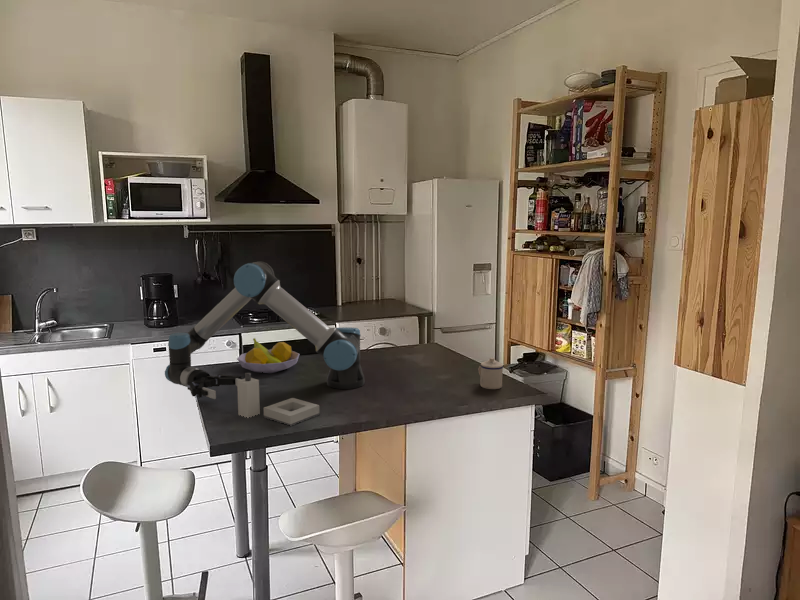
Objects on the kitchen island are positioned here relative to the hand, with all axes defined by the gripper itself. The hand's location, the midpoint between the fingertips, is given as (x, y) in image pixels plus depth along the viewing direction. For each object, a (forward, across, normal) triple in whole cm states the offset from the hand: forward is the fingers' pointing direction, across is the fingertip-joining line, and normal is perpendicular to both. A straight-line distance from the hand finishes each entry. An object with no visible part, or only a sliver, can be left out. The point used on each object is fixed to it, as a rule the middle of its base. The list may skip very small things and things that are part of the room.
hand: (231, 390), depth 190 cm
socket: (+19, -8, -7) cm, 22 cm away
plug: (+9, 0, -7) cm, 11 cm away
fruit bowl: (-31, -43, -7) cm, 53 cm away
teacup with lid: (+58, -81, -7) cm, 99 cm away
